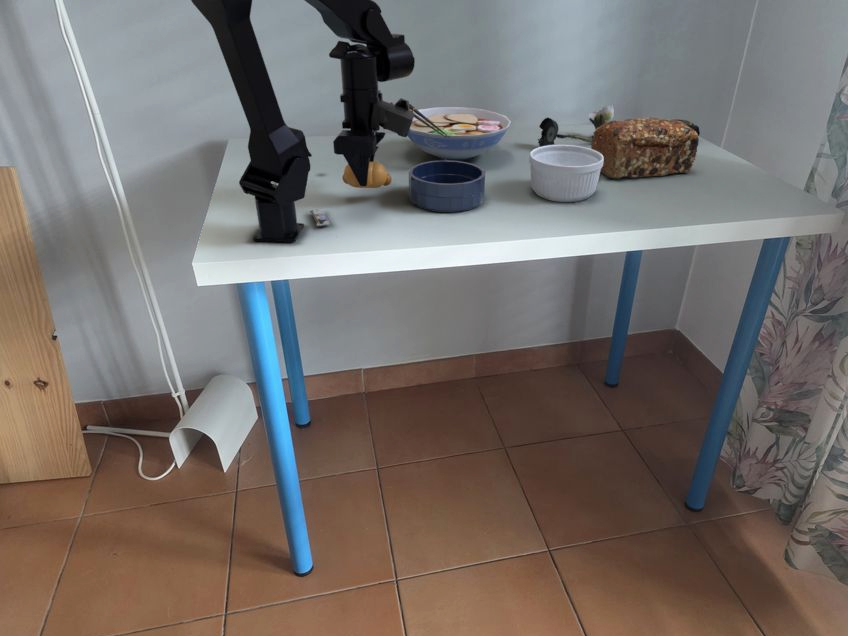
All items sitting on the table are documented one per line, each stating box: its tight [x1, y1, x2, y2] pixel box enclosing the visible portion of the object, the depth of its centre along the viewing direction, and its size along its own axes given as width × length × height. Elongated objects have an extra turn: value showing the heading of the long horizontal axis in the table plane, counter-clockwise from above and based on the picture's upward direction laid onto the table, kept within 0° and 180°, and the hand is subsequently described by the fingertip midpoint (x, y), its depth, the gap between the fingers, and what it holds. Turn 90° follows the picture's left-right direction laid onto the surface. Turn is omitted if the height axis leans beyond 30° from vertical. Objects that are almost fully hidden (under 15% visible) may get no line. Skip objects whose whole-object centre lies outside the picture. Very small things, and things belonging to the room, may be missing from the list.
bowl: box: [408, 159, 486, 213], centre depth 118 cm, size 13×13×5 cm
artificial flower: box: [537, 104, 615, 147], centre depth 151 cm, size 9×22×10 cm, turn 117°
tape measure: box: [672, 118, 701, 137], centre depth 156 cm, size 7×7×4 cm
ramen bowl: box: [407, 103, 512, 162], centre depth 139 cm, size 25×23×8 cm
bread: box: [590, 117, 700, 180], centre depth 134 cm, size 19×11×10 cm, turn 108°
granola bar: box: [309, 208, 331, 227], centre depth 109 cm, size 7×2×1 cm, turn 21°
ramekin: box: [528, 144, 604, 203], centre depth 122 cm, size 13×13×7 cm
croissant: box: [341, 161, 393, 189], centre depth 116 cm, size 5×9×4 cm, turn 88°
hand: (365, 181), depth 116 cm, fingers closed on croissant, 4 cm apart
